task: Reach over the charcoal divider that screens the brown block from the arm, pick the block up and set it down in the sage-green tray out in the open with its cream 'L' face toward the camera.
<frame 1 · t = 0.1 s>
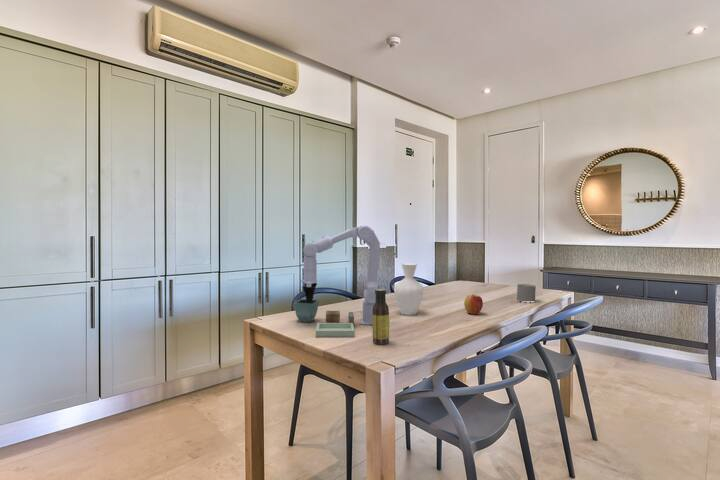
hand: (309, 300, 165), 10 cm above the table, fingers open, 7 cm apart
flower pot: (306, 321, 170), on the table
sauce bottle: (380, 342, 139), on the table
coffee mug: (527, 301, 223), on the table
apple: (472, 314, 188), on the table
vase: (408, 313, 187), on the table
divider: (351, 325, 162), on the table
brown block: (332, 326, 162), on the table
tray: (335, 332, 151), on the table
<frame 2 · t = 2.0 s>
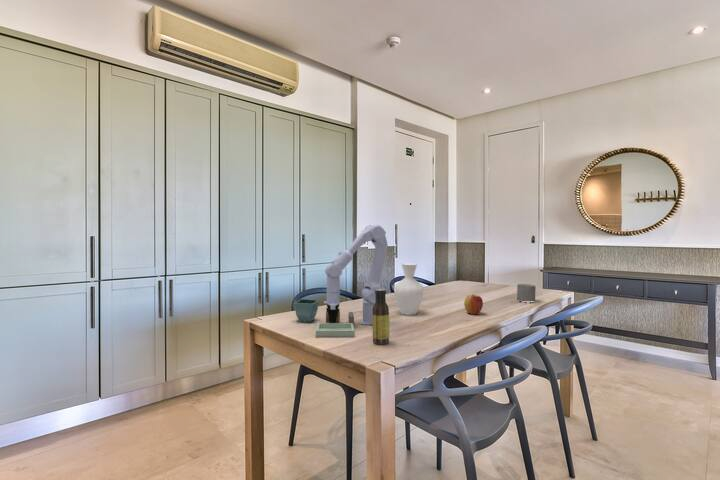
hand: (332, 322, 162), 1 cm above the table, fingers closed on brown block, 6 cm apart
brown block: (332, 325, 162), on the table, touching gripper
everything else where it was.
when the fingers open (3 cm above the table, at t = 5.3 s): brown block drops 1 cm, resting on tray.
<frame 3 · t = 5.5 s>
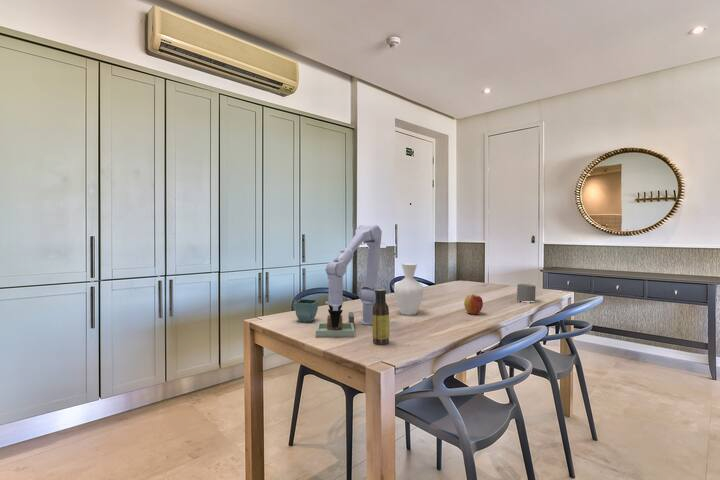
hand: (335, 324, 151), 3 cm above the table, fingers open, 7 cm apart
brown block: (334, 331, 151), resting on tray
everything else where it was.
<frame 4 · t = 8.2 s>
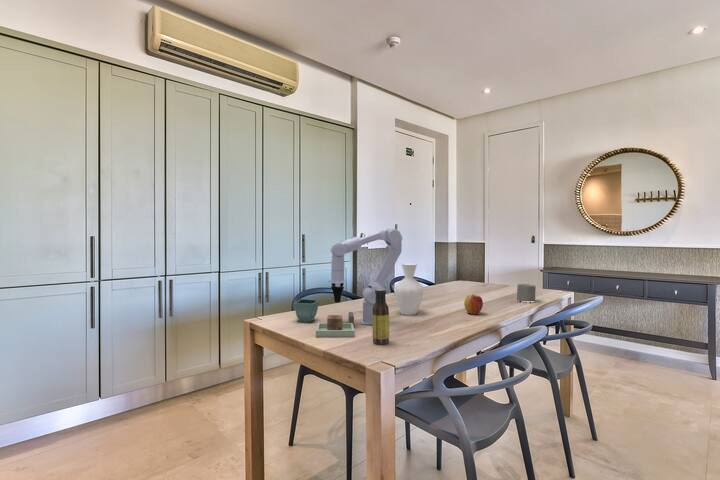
hand: (337, 300, 164), 10 cm above the table, fingers open, 7 cm apart
nothing on the table moved.
at the end: brown block inside the target area (0.1 cm from its centre), point 0.5 cm above the table; brown block tilted 0°; the gripper is holding nothing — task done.
